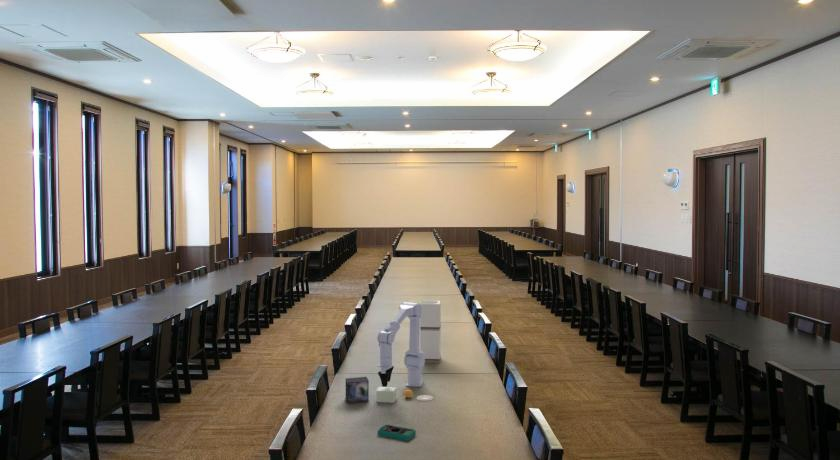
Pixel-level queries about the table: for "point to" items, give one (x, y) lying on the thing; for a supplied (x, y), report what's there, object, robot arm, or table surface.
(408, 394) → the ball
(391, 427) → the digital multimeter
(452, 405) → the table surface
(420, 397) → the white round disc
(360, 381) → the small box
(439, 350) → the white rectangular tower
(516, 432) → the table surface
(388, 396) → the pale green block
